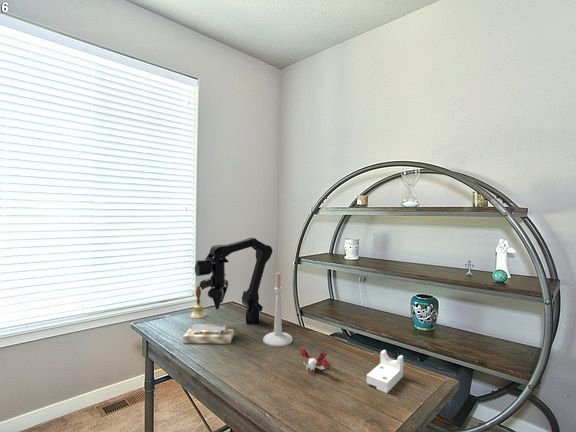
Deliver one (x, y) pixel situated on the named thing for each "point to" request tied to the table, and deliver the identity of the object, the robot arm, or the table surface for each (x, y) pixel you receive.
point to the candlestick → (278, 322)
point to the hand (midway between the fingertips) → (219, 305)
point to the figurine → (315, 360)
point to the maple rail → (209, 336)
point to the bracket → (386, 373)
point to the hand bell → (198, 307)
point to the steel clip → (208, 328)
